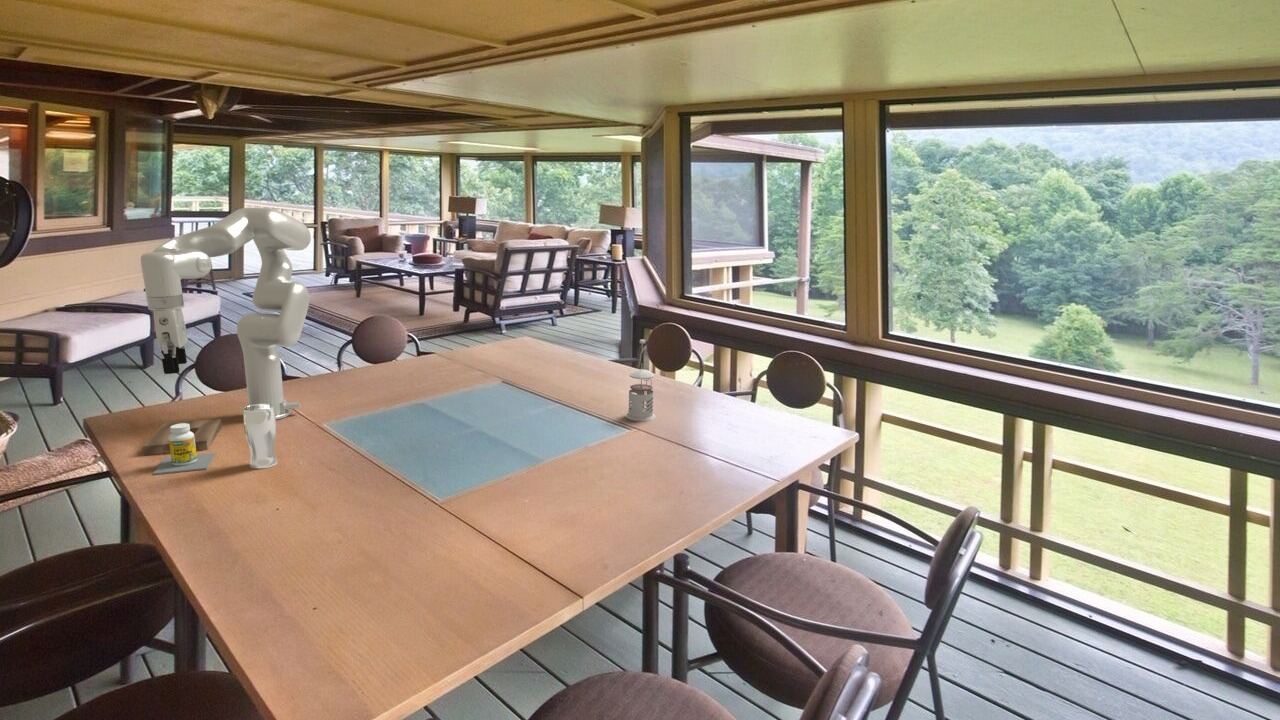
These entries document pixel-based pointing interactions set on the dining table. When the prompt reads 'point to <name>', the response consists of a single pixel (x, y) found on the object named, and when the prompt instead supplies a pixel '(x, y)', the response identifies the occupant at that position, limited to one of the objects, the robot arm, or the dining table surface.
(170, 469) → the rubber mat
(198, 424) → the brown board with hole
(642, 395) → the french press
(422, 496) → the dining table surface
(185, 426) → the supplement bottle
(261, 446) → the beer glass
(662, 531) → the dining table surface
